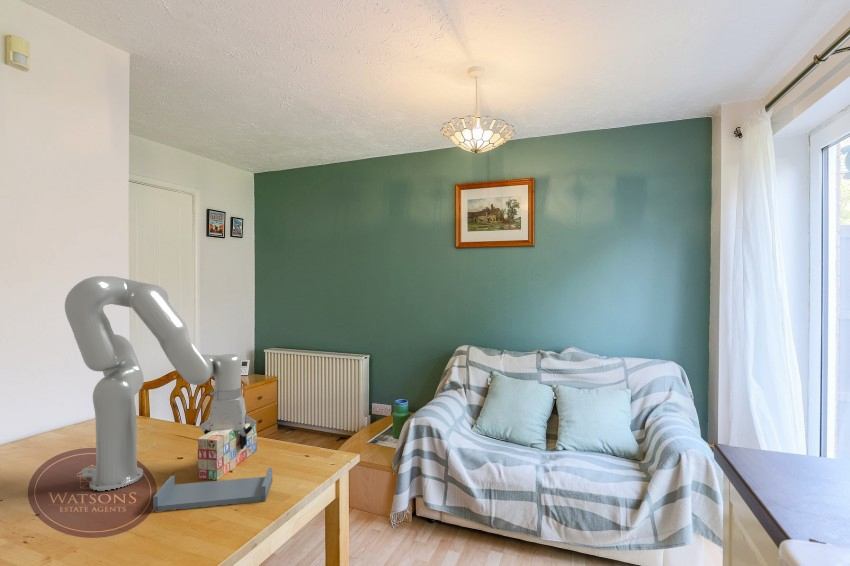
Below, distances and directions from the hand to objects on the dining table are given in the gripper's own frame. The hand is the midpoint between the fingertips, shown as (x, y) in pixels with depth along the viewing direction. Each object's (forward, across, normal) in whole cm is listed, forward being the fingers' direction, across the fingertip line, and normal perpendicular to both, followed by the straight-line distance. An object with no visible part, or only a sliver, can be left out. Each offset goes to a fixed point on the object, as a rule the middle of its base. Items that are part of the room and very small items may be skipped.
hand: (228, 448), depth 132 cm
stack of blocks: (+5, 0, 0) cm, 5 cm away
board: (+5, +2, -20) cm, 20 cm away
